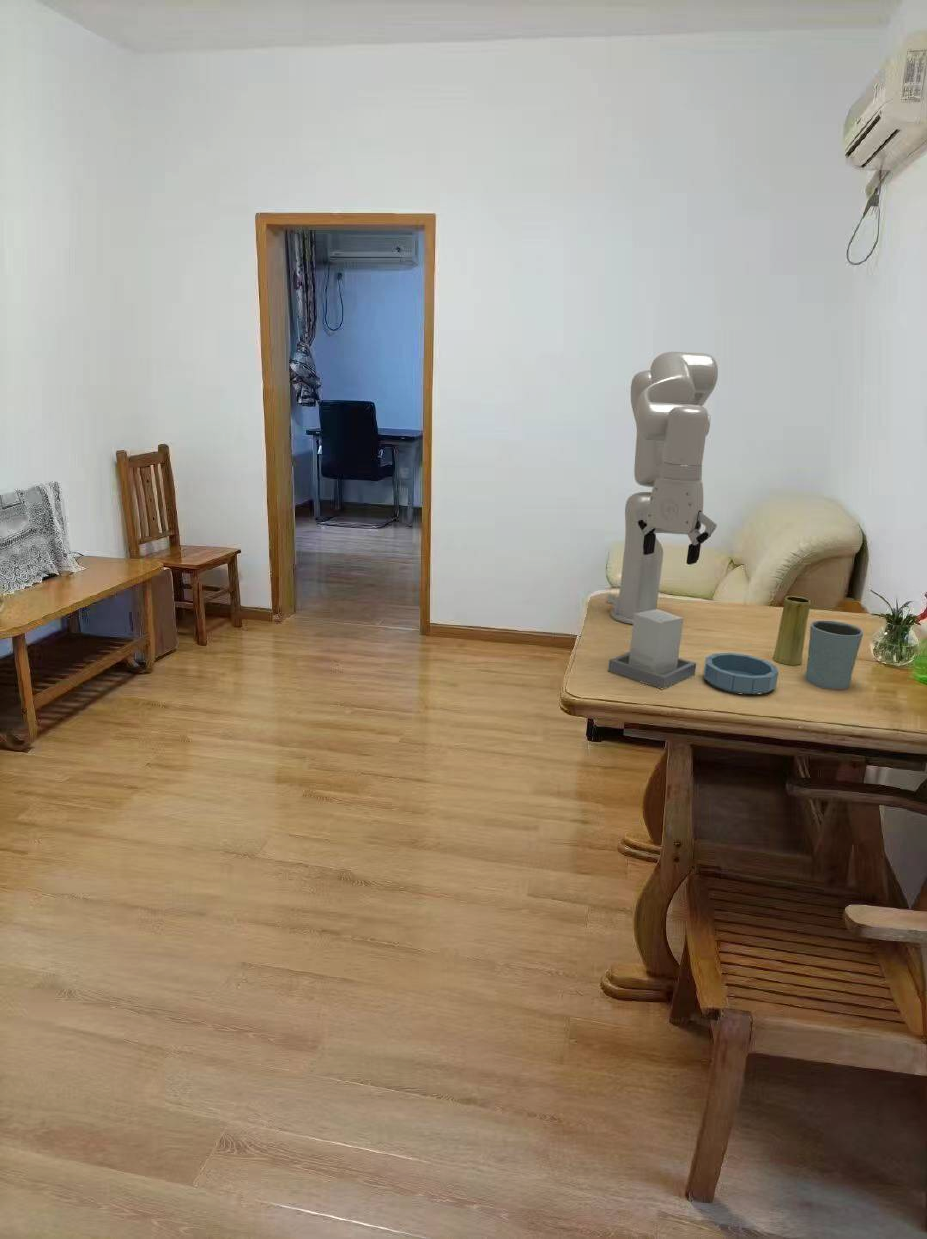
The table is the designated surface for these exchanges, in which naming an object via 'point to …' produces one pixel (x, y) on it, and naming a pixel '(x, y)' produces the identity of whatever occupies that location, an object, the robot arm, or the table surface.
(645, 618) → the supplement box
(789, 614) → the vase
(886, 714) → the table surface
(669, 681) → the gray square frame
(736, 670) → the bowl
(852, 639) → the blue-grey cup
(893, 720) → the table surface
